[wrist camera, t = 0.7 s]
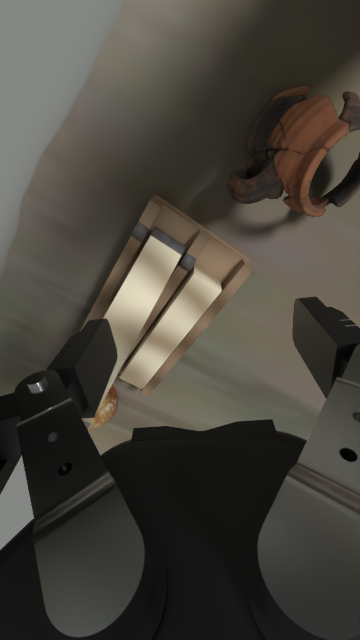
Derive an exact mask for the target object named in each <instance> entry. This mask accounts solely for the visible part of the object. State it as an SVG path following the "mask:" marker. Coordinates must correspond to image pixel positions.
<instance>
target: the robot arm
mask: <svg viewBox="0 0 360 640" xmlns="http://www.w3.org/2000/svg"><path fill="white" fill-rule="evenodd" d="M292 333H293V341H294V344H295V347H296V348H297V350H298V352H299V353H300V355H301V357H302V359H303V360H304V362H305V364H306V365H307V367H308V369H309V370H310V372H311V374H312V375H313V377H314V379H315V381H316V382H317V384H318V386H319V387H320V389H321V391H322V392H323V394H324V396H325V397H326V401H325V404H324V406H323V408H322V410H321V412H320V414H319V416H318V418H317V421H316V423H315V425H314V427H313V429H312V431H311V433H310V436H309V438H308V440H307V441H306V440H304V439H302V438H300V437H297V436H294V435H292V434H288V433H284V432H280V431H276V430H275V427H274V423H273V420H272V419H271V420H255V421H240V422H234V423H231V424H227V425H223V426H220V427H216V428H213V429H209V430H206V431H194V430H188V429H181V428H175V427H169V426H161V427H146V428H134V430H133V434H132V439H131V440H128V441H126V442H123V443H121V444H118V445H116V446H115V447H113V448H111V449H109V450H108V451H106V452H105V453H103V454H102V455H100V453H99V451H98V449H97V447H96V445H95V443H94V442H93V440H92V438H91V436H90V434H89V432H88V430H87V428H86V426H85V424H84V422H83V420H82V419H83V418H94V417H95V414H96V412H97V409H98V407H99V404H100V402H101V399H102V397H103V394H104V392H105V389H106V387H107V384H108V382H109V379H110V377H111V374H112V372H113V369H114V367H115V364H116V362H117V348H116V344H115V341H114V337H113V334H112V330H111V327H110V324H109V321H108V320H107V319H106V318H104V319H94V320H89V321H88V322H87V323H86V325H85V326H84V328H83V329H82V330H81V332H78V333H76V334H75V335H74V336H72V337H71V338H70V339H69V340H68V341H67V342H66V344H65V345H64V347H63V348H62V349H61V351H60V353H58V355H57V356H56V357H55V359H54V360H53V361H52V363H51V364H50V365H49V367H48V368H47V369H46V370H43V371H39V372H36V373H33V374H31V375H29V376H28V377H26V378H25V379H23V380H22V381H21V382H20V383H19V384H18V385H17V386H16V388H15V392H14V393H11V394H7V395H4V396H0V494H1V492H2V490H3V488H4V487H5V484H6V483H7V481H8V479H9V477H10V476H11V474H12V472H13V470H14V468H15V466H16V465H17V463H18V461H19V459H20V457H21V455H22V459H23V464H24V469H25V474H26V479H27V485H28V490H29V495H30V500H31V505H32V510H33V515H34V519H33V520H31V521H30V522H29V523H28V524H27V525H26V526H25V527H24V528H23V529H22V530H21V531H20V532H19V533H18V534H17V535H16V536H15V537H13V539H11V541H9V542H8V543H7V544H6V545H5V546H4V547H3V548H2V549H1V550H0V640H360V328H359V327H358V326H356V324H355V323H354V322H353V321H351V320H350V319H349V318H348V317H347V316H346V315H345V314H344V313H343V312H341V311H339V310H337V309H334V308H332V307H326V306H325V305H324V304H323V303H322V302H321V301H320V300H319V299H318V298H317V297H307V298H298V299H296V300H295V303H294V315H293V332H292Z"/></svg>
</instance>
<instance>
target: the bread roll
mask: <svg viewBox="0 0 360 640" xmlns="http://www.w3.org/2000/svg"><path fill="white" fill-rule="evenodd" d="M117 406H118V396H117V392H116V390H115V388H114V386H113V385H112V386H111V387H110V389H109V391H108V393H107V395H106V397H105V399H104V400H103V402H102V404H101V406H100V408H99V410H98V412H97V413H96V415H95V417H94V419H93V421H92V423H91V425H90V427H89V428H88V431H89V430H93V429H97V428H99V427H101V426H103V425H105V424H106V423H107V422H108V421H109V420H110V419H111V418H112V417H113V415H114V414H115V412H116V409H117Z"/></svg>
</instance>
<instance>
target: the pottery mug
mask: <svg viewBox="0 0 360 640" xmlns="http://www.w3.org/2000/svg"><path fill="white" fill-rule="evenodd" d="M308 93H309V87H308V86H300V87H296V88H290V89H286V90H284V91H282V92H280V93H279V94H277V95H276V96H275V97H273V98H272V99H271V100H270V101H268V102H267V104H266V105H265V106H264V107H263V108H262V110H261V111H260V112H259V114H258V116H257V117H256V119H255V121H254V122H253V125H252V127H251V129H250V134H249V137H248V142H247V149H248V150H249V153H250V155H249V156H248V158H247V159H246V161H245V162H244V163H243V164H242V165H241V166H239V167H238V168H237V169H235V170H234V171H233V172H232V174H231V176H230V179H229V182H228V192H229V196H230V197H231V198H233V199H235V200H236V201H237V202H240V203H243V204H250V203H255V202H258V201H261V200H262V199H265V198H269V199H278V198H279V197H281V195H282V193H283V190H285V192H286V193H288V195H289V196H287V197H285V198H284V199H283V201H284V203H285V204H287V205H288V206H289V207H290V208H291V209H292V210H294V211H297V212H300V213H305V214H306V215H308V216H311V217H318V216H322V215H324V213H325V211H326V209H325V206H326V205H328V204H330V203H333V204H334V205H335V206H337V207H341V206H343V205H344V204H345V203H346V202H347V201H348V200H350V199H351V198H352V196H353V195H355V194H356V193H357V191H358V190H359V189H360V153H359V157H358V159H357V160H356V161H355V162H354V163H353V165H352V167H351V169H350V170H349V172H348V173H347V175H346V176H345V178H344V179H343V181H342V182H341V183H340V184H339V185H338V186H336V187H335V188H334V189H333V190H331V191H330V192H329V193H327V194H326V195H324V196H323V197H321V198H319V197H309V196H308V192H309V187H310V184H311V181H312V178H313V176H314V173H315V171H316V169H317V167H318V166H319V164H320V162H321V161H322V159H323V158H324V157H325V155H326V154H327V152H328V151H329V150H330V149H331V148H332V147H333V146H334V145H335V144H336V143H337V142H338V141H339V140H341V139H342V138H343V137H344V136H346V135H347V134H348V133H349V132H352V131H355V130H359V129H360V98H359V96H358V95H357V94H356V93H353V92H348V91H346V92H344V93H343V96H342V97H343V99H344V101H345V104H344V108H343V111H342V113H341V114H340V116H339V118H338V117H337V113H336V110H335V109H334V106H333V103H332V102H331V100H330V98H329V96H324V95H319V94H317V95H314V96H312V97H310V98H309V99H306V97H305V96H304V97H303V96H302V95H305V94H308ZM272 150H277V152H276V154H275V155H274V157H273V160H272V161H271V160H269V156H268V151H272Z"/></svg>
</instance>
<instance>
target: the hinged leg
mask: <svg viewBox="0 0 360 640" xmlns="http://www.w3.org/2000/svg"><path fill="white" fill-rule="evenodd" d="M185 247H186V246H185V245H183V244H182V243H180V242H179V241H177V240H176V239H174V238H173V237H171V236H170V235H168V234H166V233H165V232H163V231H162V230H160V229H159V228H157V227H155V229H154V230H153V232H152V234H151V236H150V237H149V239H148V241H147V243H146V244H145V246H144V248H143V250H142V251H141V253H140V255H139V257H138V258H137V260H136V262H135V264H134V265H133V267H132V269H131V271H130V272H129V274H128V276H127V278H126V279H125V281H124V283H123V284H122V286H121V288H120V290H119V291H118V293H117V295H116V297H115V298H114V300H113V302H112V304H111V305H110V307H109V309H108V311H107V312H106V314H105V316H104V318H106V319H107V320H108V321H109V324H110V327H111V330H112V334H113V337H114V341H115V344H116V348H117V362H116V364H115V367H114V369H113V372H112V374H111V377H110V379H109V382H108V384H107V387H106V389H105V392H104V394H103V397H102V399H101V402H100V404H99V407H98V409H97V412H98V410H99V408H100V406H101V404H102V402H103V400H104V399H105V397H106V395H107V393H108V391H109V389H110V387H111V386H112V384H113V382H114V380H115V378H116V376H117V374H118V373H119V371H120V369H121V367H122V365H123V363H124V361H125V360H126V358H127V356H128V354H129V352H130V350H131V348H132V347H133V345H134V343H135V341H136V339H137V337H138V335H139V334H140V332H141V330H142V328H143V326H144V324H145V322H146V321H147V319H148V317H149V315H150V313H151V311H152V309H153V307H154V306H155V304H156V302H157V300H158V298H159V296H160V294H161V293H162V291H163V289H164V287H165V285H166V283H167V281H168V280H169V278H170V276H171V274H172V272H173V270H174V268H175V267H176V265H177V263H178V261H179V259H180V257H181V255H182V253H183V252H184V249H185ZM104 318H103V319H104ZM97 412H96V413H97ZM95 415H96V414H95ZM93 419H94V418H83V419H82V420H83V422H84V424H85V426H86V428H87V430H88V428H89V427H90V425H91V423H92V421H93Z"/></svg>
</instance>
